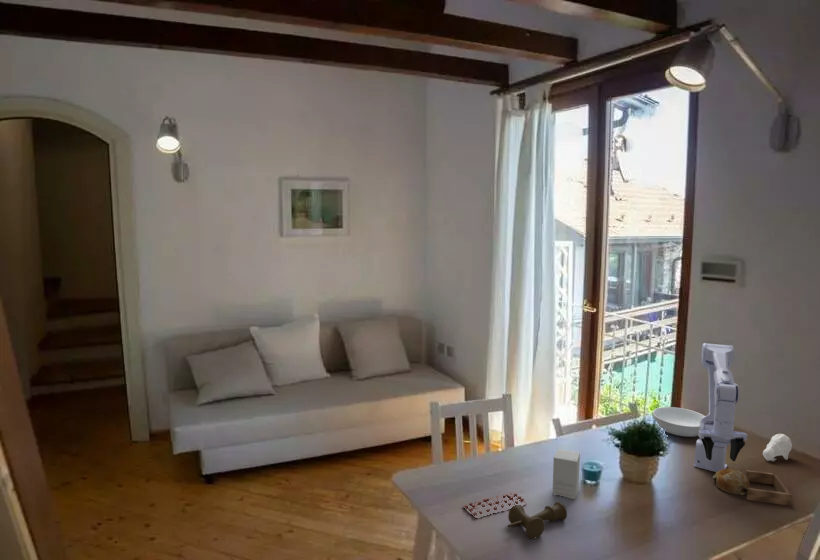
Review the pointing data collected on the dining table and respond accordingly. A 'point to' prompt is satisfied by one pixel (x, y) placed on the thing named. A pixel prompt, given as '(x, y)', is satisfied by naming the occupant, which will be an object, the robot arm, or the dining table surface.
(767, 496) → the wooden tray
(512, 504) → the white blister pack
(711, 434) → the robot arm
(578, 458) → the supplement box
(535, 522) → the kendama
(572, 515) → the dining table surface
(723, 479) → the bread roll
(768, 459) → the white lumpy piece
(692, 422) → the serving bowl
